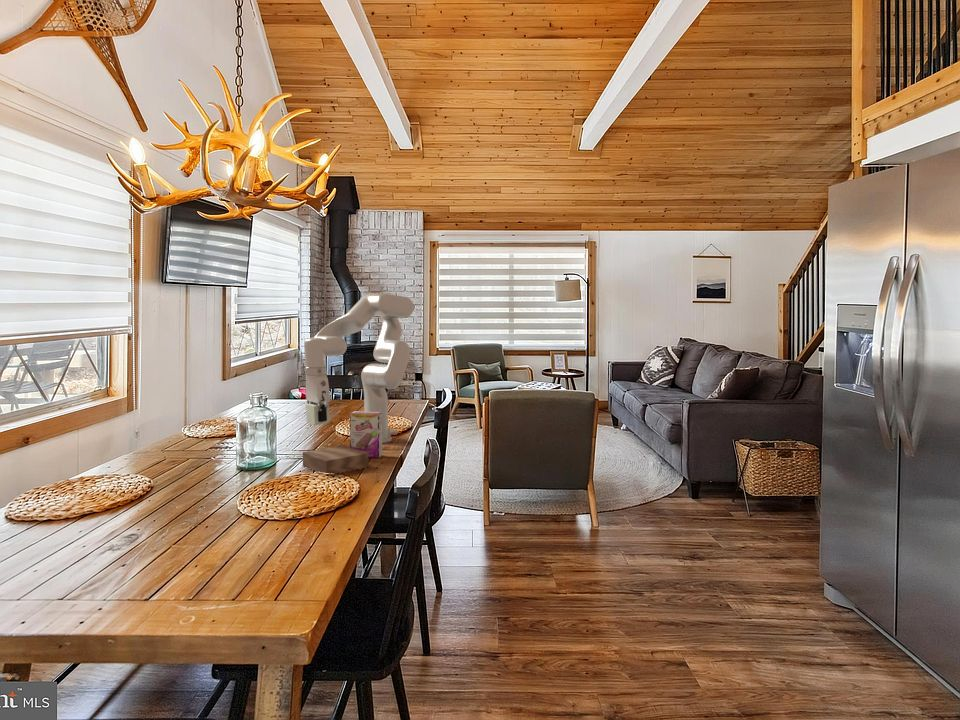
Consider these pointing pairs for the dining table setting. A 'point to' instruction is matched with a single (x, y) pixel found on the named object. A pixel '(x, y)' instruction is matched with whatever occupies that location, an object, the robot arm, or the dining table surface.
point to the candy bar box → (366, 432)
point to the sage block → (315, 414)
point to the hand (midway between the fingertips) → (318, 419)
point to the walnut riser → (335, 459)
